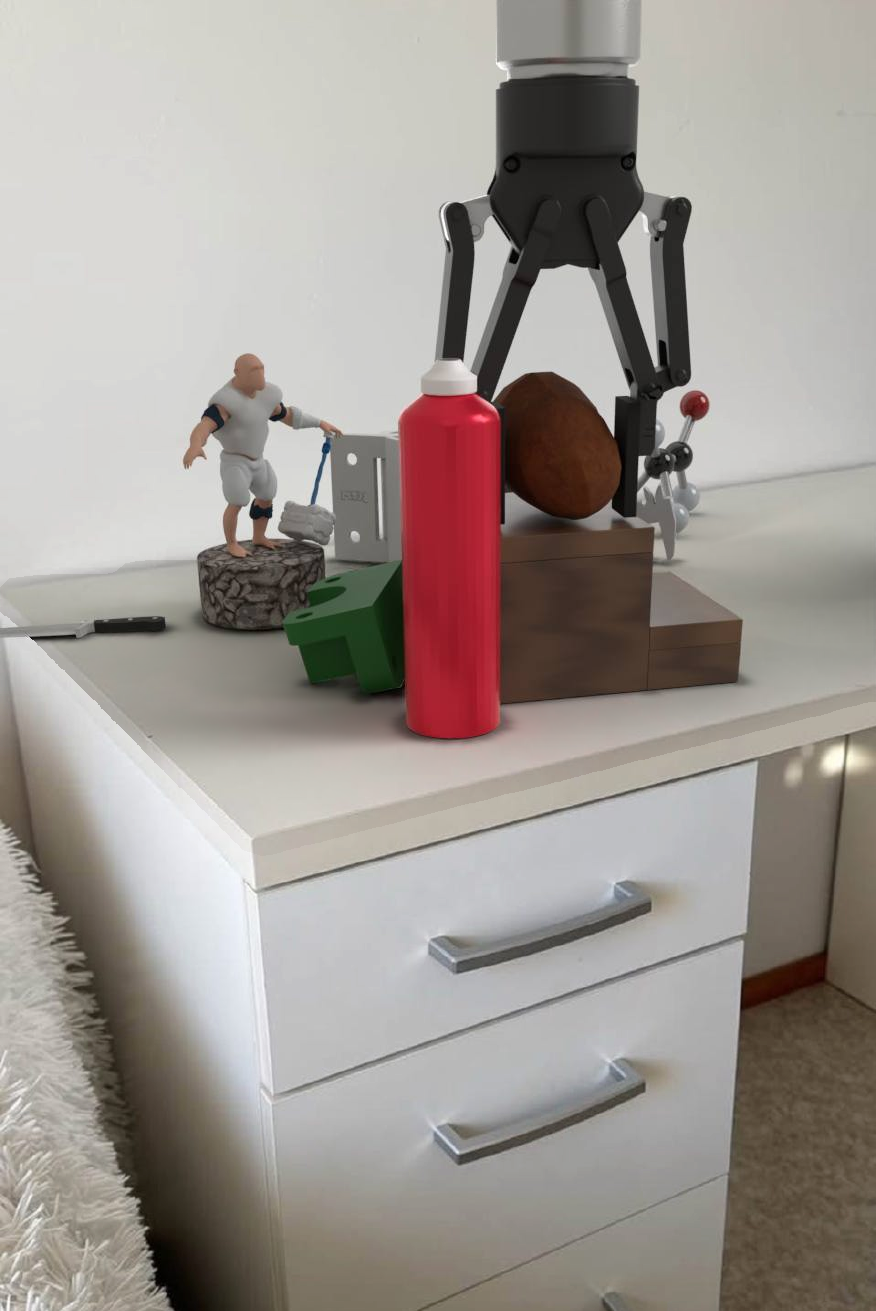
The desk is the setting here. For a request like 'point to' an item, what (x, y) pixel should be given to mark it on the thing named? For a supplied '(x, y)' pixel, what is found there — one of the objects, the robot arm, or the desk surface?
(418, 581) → the bottle
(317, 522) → the figurine
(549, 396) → the potato
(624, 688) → the step shelf
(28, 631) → the knife
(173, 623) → the desk surface
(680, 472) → the molecular model
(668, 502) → the caliper
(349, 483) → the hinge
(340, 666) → the clamp
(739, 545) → the desk surface
